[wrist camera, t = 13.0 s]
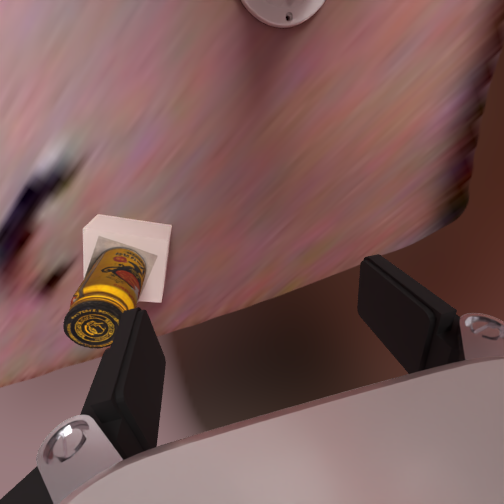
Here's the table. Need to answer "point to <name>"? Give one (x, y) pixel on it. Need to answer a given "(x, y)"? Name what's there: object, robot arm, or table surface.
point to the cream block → (135, 235)
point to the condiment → (107, 292)
